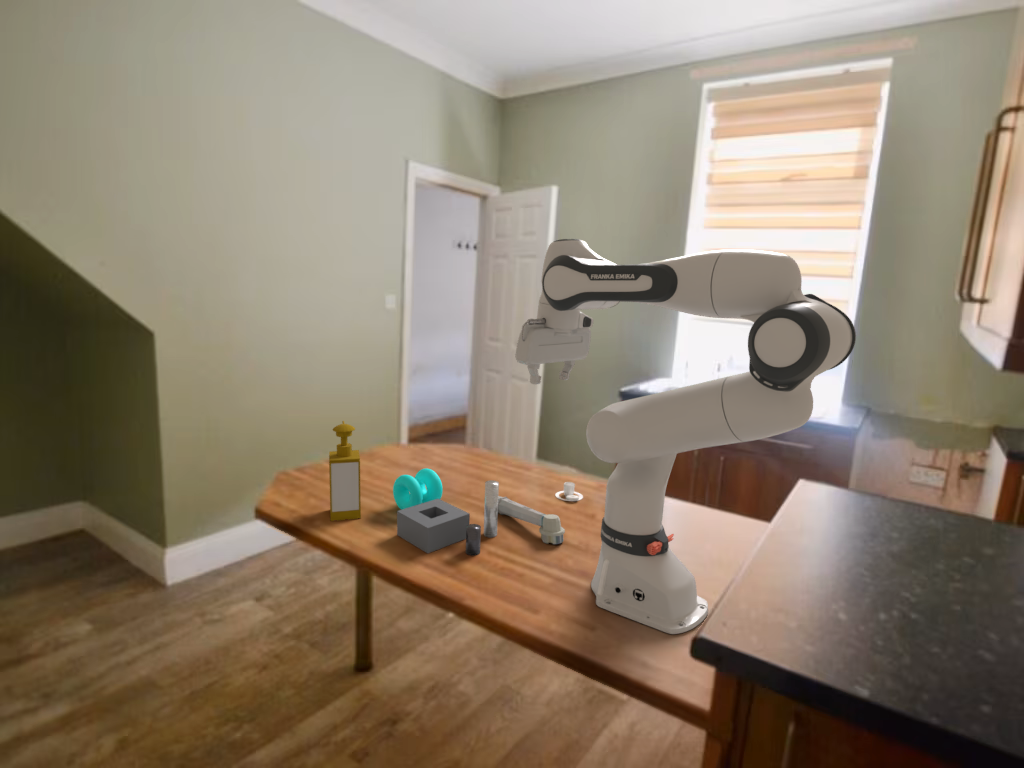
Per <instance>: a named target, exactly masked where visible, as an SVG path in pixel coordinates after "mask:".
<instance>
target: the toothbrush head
mask: <svg viewBox="0 0 1024 768" xmlns="http://www.w3.org/2000/svg"><path fill="white" fill-rule="evenodd" d="M498 514H500V515H505V516H509V517H511V518H515V519H517V520H520V521H523V522H526V523H529V524H531V525H535V526H537V527H539V529H538V530H539V531H538V532H539V533H540V537H541V540H542V543H544V544H549V543H550V544H552V545H559V544H562V543H564V534H565V531H566V529H565V528H564V527H563V526H562V524H561V518H560V517H559V515H557V514H552V513H551V514H545V513H543V512H541V511H539V510H535V509H533V508H532V507H528V506H526V505H524V504H522V503H519V502H516V501H514V500H511V499H510V498H508V497H507V496H500V495H498Z"/></svg>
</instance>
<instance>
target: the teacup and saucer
mask: <svg viewBox="0 0 1024 768" xmlns="http://www.w3.org/2000/svg"><path fill="white" fill-rule="evenodd" d="M575 486H576V483H575V482H572V481H565V482H564V483H563V490H560V491H557V492H555V494H554V496H555V497H556V498H557V499H559V500H561V501H565V502H578V501H581V500H583V499H584V495H583V494H582V493H579V492H578V491H575ZM561 494H564V497H565V498H562V497H561V496H560V495H561ZM574 494H575V495H574Z"/></svg>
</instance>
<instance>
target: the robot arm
mask: <svg viewBox="0 0 1024 768" xmlns="http://www.w3.org/2000/svg"><path fill="white" fill-rule="evenodd" d="M541 272H542V273H541V281H540V282H541V295H540V297H539V299H538V306H537V316H536V318H529V319H527V321H525V322H524V323H523V325H522V326H521V330H520V333H519V336H518V340H517V343H516V349H515V354H514V355H515V360H516V362H517V363H519V364H522V365H525V366H527V369H528V372H529V375H530V377H529V383H530V384H531V385H534V386H535V385H541V383H542V381H541V380H542V375H540V374H539V372H538V370H539V369H540V366H541V364H551V363H553V364H554V363H560V362H561V363H562V362H563V363H564V365H563V367H562V369H561V370H560V371H559V372H558V373H559V375H558V378H559V379H560V380H561V381H567V380H569V379H570V375H571V371H572V370H573V369H574V367H575V364H576V361H580V360H585V359H586V358H587V356H588V354H589V351H590V347H591V339H592V331H591V329H592V327H593V325H594V318H593V317H591V316H589V315H587V314H585V313H584V312H583V311H581V310H606V309H607V310H608V309H611V308H613V307H616V306H617V305H618V304H619V303H621V302H624V303H626V302H627V303H628V302H629V303H630V302H631V303H639V304H645V305H650V306H653V307H655V306H656V307H658V308H663V309H668V310H671V311H676V312H679V313H685V314H689V315H694V316H699V317H704V318H715V319H717V318H718V319H739V320H741V319H742V320H747V321H750V322H752V323H753V324H752V325H751V328H750V330H749V333H748V336H747V350H748V351H747V352H748V356H749V365H748V367H749V368H748V369H749V371H747V372H743V373H737V374H733V375H729V376H724V377H720V378H716V379H713V380H709V381H704V382H699V383H696V384H691V385H687V386H682V387H677V388H674V389H669V390H665V391H664V390H663V391H661V392H656V393H652V394H648V395H643V396H639V397H634V398H630V399H626V400H623V401H617V402H613V403H611V404H609V405H606V407H604V408H601V409H600V410H598V411H597V412H595V413H594V414H593V415H592V416H590V418H589V420H588V422H587V426H586V431H585V434H586V441H587V445H588V446H589V449H590V451H591V453H593V455H594V456H595V457H596V458H598V459H599V460H601V461H602V462H605V463H609V464H617V465H616V467H615V468H614V470H613V471H612V473H611V474H610V476H609V477H608V479H607V483H606V488H605V489H606V491H605V504H604V515H603V517H602V520H601V528H600V540H601V546H600V552H599V557H598V562H597V566H596V569H595V573H594V576H593V577H592V579H591V583H590V586H591V590H592V592H593V594H594V595H595V604H596V605H597V607H598V608H601V609H603V610H606V611H609V612H611V613H614V614H617V615H620V616H621V617H624V618H627V619H629V620H632V621H635V622H637V623H640V624H643V625H645V626H648V627H650V628H652V629H656V630H658V631H660V632H662V633H663V632H664V633H666V634H669V635H678V634H682V633H686V632H689V631H691V630H693V629H694V628H696V627H698V626H699V625H700V624H701V623H702V622H703V621H704V620H705V619H706V617H707V616H708V612H709V605H708V601H707V600H706V599H705V598H703V597H701V596H699V595H698V591H697V582H696V579H695V576H694V574H693V573H692V572H691V570H689V569H688V567H687V566H686V565H685V564H684V563H683V562H682V561H681V559H679V557H678V556H677V555H676V554H675V553H674V552H673V550H672V549H671V548H670V547H669V546H670V544H669V543H670V542H671V541H673V540H674V538H673V537H674V536H675V534H674V533H671V534H669V535H668V536H667V534H666V531H665V528H664V525H663V517H664V516H663V515H664V507H665V498H666V496H665V495H666V492H667V491H666V490H667V485H668V483H669V478H670V475H671V472H672V469H673V466H674V463H675V460H676V457H677V454H680V453H685V452H690V451H695V450H699V449H706V448H712V447H719V446H724V445H731V444H732V445H733V444H739V443H746V442H753V441H757V440H761V439H767V438H771V437H774V436H778V435H781V434H784V433H787V432H791V431H793V430H795V429H796V430H797V429H799V428H801V427H803V426H804V425H805V424H806V423H807V422H809V419H810V418H811V417H812V414H813V409H814V398H813V392H812V390H811V389H812V382H813V381H814V379H815V378H816V377H817V376H820V375H821V374H822V373H824V372H826V371H829V370H833V369H835V368H836V367H839V366H840V365H841V364H843V363H844V362H845V361H846V360H847V358H849V357H850V355H851V354H852V352H853V350H854V348H855V344H856V339H857V335H856V333H857V332H856V329H855V325H854V323H853V321H852V320H851V318H850V317H849V316H848V315H847V314H846V313H845V312H844V311H843V310H841V309H839V308H838V307H837V306H834V305H833V304H831V303H829V302H827V301H825V300H824V299H822V298H821V297H818V296H817V295H815V294H812V293H806V294H804V293H803V292H802V282H803V281H802V274H801V270H800V266H799V265H798V263H797V261H796V260H795V259H794V258H792V257H791V256H790V255H788V254H784V253H783V252H782V253H781V252H776V251H775V252H774V251H769V250H760V249H757V250H756V249H717V250H710V251H709V250H708V251H702V252H697V253H692V254H686V255H682V256H677V257H671V258H667V259H661V260H657V261H651V262H645V263H637V264H636V263H633V264H617V263H616V262H612V261H611V260H608V259H606V258H604V257H602V256H601V255H600V254H597V253H596V252H595V251H594V250H592V249H591V248H590V247H589V244H588V243H587V241H585V240H582V239H579V238H562V239H561V238H560V239H556V240H554V241H553V242H550V244H549V245H548V247H547V250H546V252H545V255H544V262H543V267H542V271H541Z"/></svg>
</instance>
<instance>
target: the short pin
mask: <svg viewBox="0 0 1024 768" xmlns="http://www.w3.org/2000/svg"><path fill="white" fill-rule="evenodd" d="M481 527H482V526H481V525H480V524H477V523H469V525H467V526H466V539H465V554H466V555H468V556H473V557H474V556H478V555H480V553H481V537H482V535H481V531H482V529H481Z"/></svg>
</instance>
